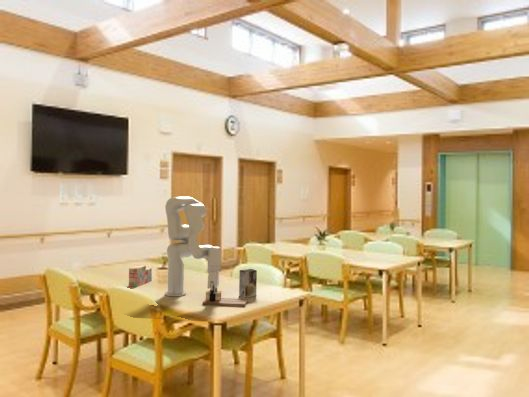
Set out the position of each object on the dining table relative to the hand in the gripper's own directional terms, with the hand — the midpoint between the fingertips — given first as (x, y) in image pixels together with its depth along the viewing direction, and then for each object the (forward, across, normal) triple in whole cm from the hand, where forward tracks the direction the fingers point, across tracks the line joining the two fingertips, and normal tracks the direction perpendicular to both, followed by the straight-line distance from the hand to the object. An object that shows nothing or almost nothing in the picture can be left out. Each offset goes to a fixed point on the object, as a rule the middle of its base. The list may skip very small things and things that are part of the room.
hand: (213, 299), depth 269 cm
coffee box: (+2, -21, +17) cm, 27 cm away
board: (+2, 0, +7) cm, 7 cm away
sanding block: (0, 0, 0) cm, 0 cm away
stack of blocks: (+2, -42, -59) cm, 73 cm away
